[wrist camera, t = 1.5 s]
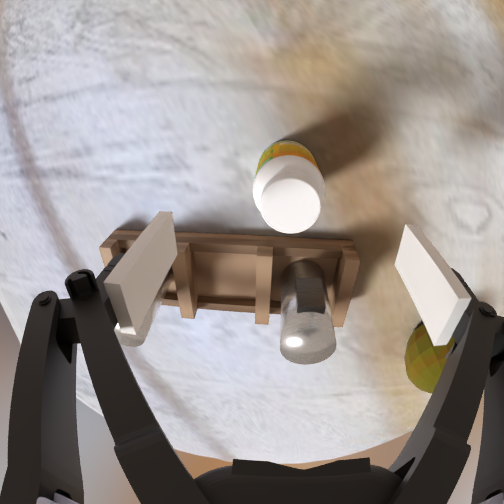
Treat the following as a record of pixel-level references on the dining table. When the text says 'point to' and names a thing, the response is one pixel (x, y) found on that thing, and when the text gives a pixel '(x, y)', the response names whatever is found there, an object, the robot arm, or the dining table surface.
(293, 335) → the shiny gray cylinder
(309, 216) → the supplement bottle
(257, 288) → the wooden spice rack
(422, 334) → the apple
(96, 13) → the dining table surface
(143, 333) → the glass spice jar
